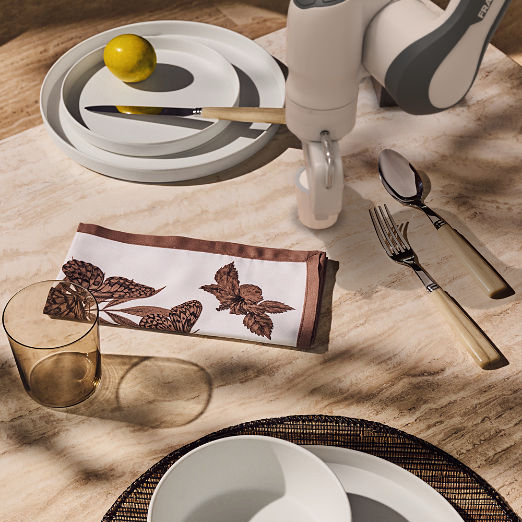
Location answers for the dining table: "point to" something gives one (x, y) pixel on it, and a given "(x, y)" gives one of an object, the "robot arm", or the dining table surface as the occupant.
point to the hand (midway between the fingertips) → (317, 193)
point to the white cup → (309, 203)
